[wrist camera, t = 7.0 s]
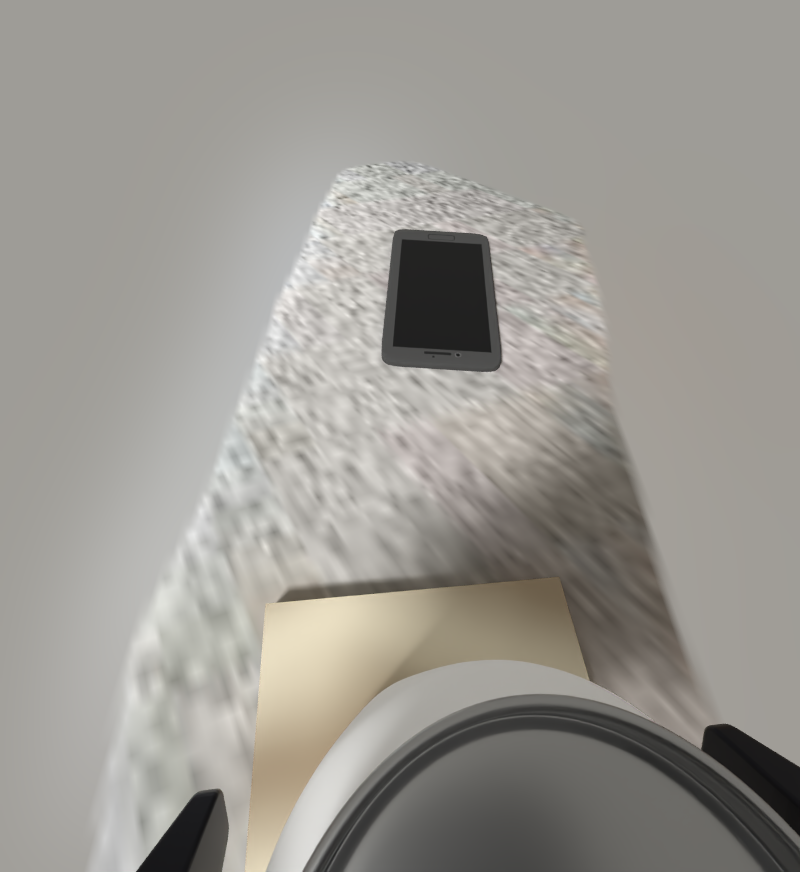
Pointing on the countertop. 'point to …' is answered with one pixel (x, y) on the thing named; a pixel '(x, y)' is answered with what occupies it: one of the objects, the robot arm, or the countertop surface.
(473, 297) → the cell phone
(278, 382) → the countertop surface
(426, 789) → the can
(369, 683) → the coaster
